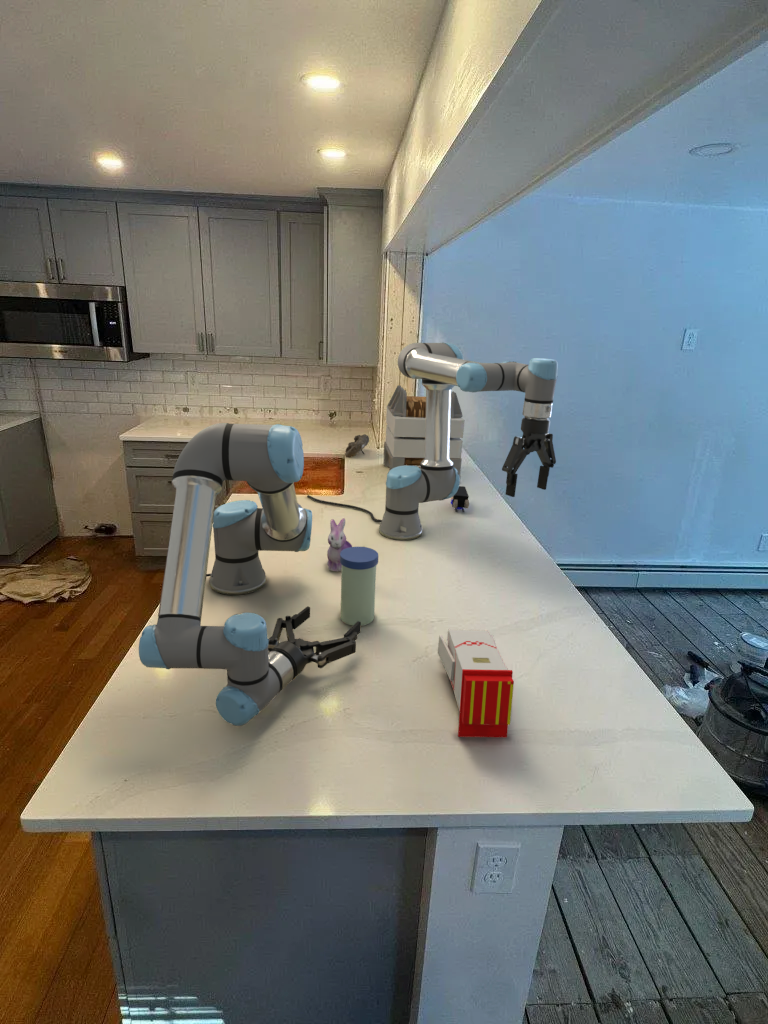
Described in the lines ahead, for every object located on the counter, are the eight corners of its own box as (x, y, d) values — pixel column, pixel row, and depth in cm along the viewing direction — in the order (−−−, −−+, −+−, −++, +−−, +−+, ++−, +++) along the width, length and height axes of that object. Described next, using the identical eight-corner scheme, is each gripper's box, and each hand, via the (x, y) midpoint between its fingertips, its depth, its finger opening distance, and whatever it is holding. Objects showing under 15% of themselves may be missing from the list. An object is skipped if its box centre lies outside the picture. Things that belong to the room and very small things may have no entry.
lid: (350, 572, 134) (350, 564, 133) (333, 557, 141) (333, 550, 141) (384, 565, 138) (385, 558, 138) (366, 551, 146) (367, 544, 145)
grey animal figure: (345, 440, 315) (366, 425, 310) (356, 453, 318) (377, 439, 313) (338, 454, 296) (361, 438, 291) (350, 468, 298) (372, 452, 293)
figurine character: (469, 517, 223) (463, 501, 236) (471, 500, 219) (465, 484, 233) (452, 516, 222) (447, 500, 236) (454, 499, 219) (449, 483, 232)
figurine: (332, 575, 167) (332, 527, 162) (319, 561, 175) (319, 516, 170) (361, 569, 171) (362, 523, 166) (347, 556, 179) (348, 512, 174)
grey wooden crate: (382, 463, 289) (386, 382, 275) (445, 464, 293) (451, 384, 279) (390, 482, 257) (394, 392, 243) (460, 483, 261) (468, 394, 247)
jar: (349, 629, 140) (351, 565, 134) (335, 613, 147) (336, 552, 141) (380, 621, 144) (382, 559, 138) (364, 606, 151) (366, 546, 145)
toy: (488, 613, 130) (523, 677, 101) (484, 667, 133) (517, 744, 104) (435, 612, 130) (455, 676, 101) (432, 666, 133) (451, 743, 103)
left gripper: (231, 664, 120) (289, 619, 139) (333, 701, 111) (380, 647, 129) (229, 633, 118) (288, 591, 136) (333, 668, 108) (382, 618, 126)
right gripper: (516, 423, 144) (506, 502, 151) (575, 416, 158) (564, 489, 166) (494, 418, 150) (485, 494, 157) (553, 412, 164) (543, 482, 171)
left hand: (333, 618), depth 132 cm, fingers open, 13 cm apart
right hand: (526, 492), depth 161 cm, fingers open, 13 cm apart
